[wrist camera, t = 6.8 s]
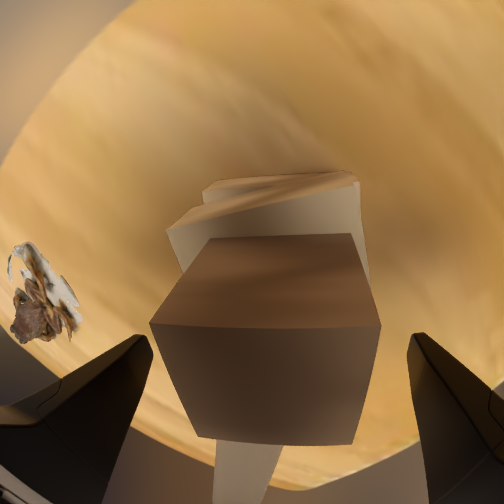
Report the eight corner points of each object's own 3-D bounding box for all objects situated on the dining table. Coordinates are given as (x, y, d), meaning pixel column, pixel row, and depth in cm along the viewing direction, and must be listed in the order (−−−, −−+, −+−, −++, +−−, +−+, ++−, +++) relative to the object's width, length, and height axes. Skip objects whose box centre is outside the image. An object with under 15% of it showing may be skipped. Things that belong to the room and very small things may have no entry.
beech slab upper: (343, 170, 12) (355, 185, 9) (365, 306, 14) (375, 345, 12) (192, 207, 14) (165, 230, 11) (237, 327, 16) (225, 365, 14)
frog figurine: (70, 362, 27) (53, 384, 24) (2, 283, 24) (-19, 300, 21) (112, 324, 22) (88, 353, 19) (24, 220, 20) (-7, 237, 16)
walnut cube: (350, 233, 10) (380, 325, 5) (344, 343, 12) (351, 444, 7) (210, 238, 11) (148, 322, 6) (230, 342, 13) (198, 436, 8)
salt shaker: (214, 402, 24) (170, 533, 12) (277, 400, 22) (251, 548, 11) (235, 435, 26) (205, 547, 14) (291, 434, 24) (274, 556, 13)
